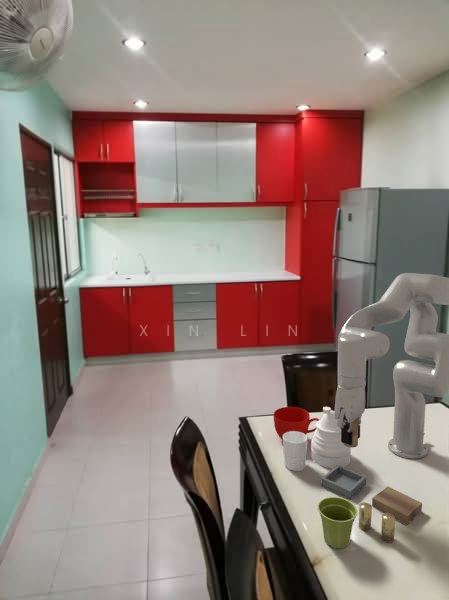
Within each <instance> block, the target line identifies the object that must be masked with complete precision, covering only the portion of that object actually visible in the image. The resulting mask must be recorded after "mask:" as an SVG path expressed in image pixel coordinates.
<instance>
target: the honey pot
mask: <svg viewBox="0 0 449 600" xmlns="http://www.w3.org/2000/svg"><path fill="white" fill-rule="evenodd" d="M322 412H323V413H324V414H323V415H322V416H321V419H319V421H316V423H315V428H317V429H316V430H315V431H314V432H313V433H314V434H313V435H312V436H313V437H312V439H311V442H310V443H311V444H310V445H311V446H310V458H311V460H312V461H313V462H314V463H315V464H317V465H319V466H322V467H324V468H328V467H329V468H328V469H330V468H331V469H333V468H334V467H336V466H337V465H339V466H342V467H344V468H345V467H346V466H348V465H349V464H350V461H351V454H352V453H351V449H352V447H347V446H345V445H344V444H343V443H342V442H341V429H340V427H338V426H337V424H338V420H339V419H335V410H333V409H332V408H331V407H329V406H323V407H322Z"/></svg>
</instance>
